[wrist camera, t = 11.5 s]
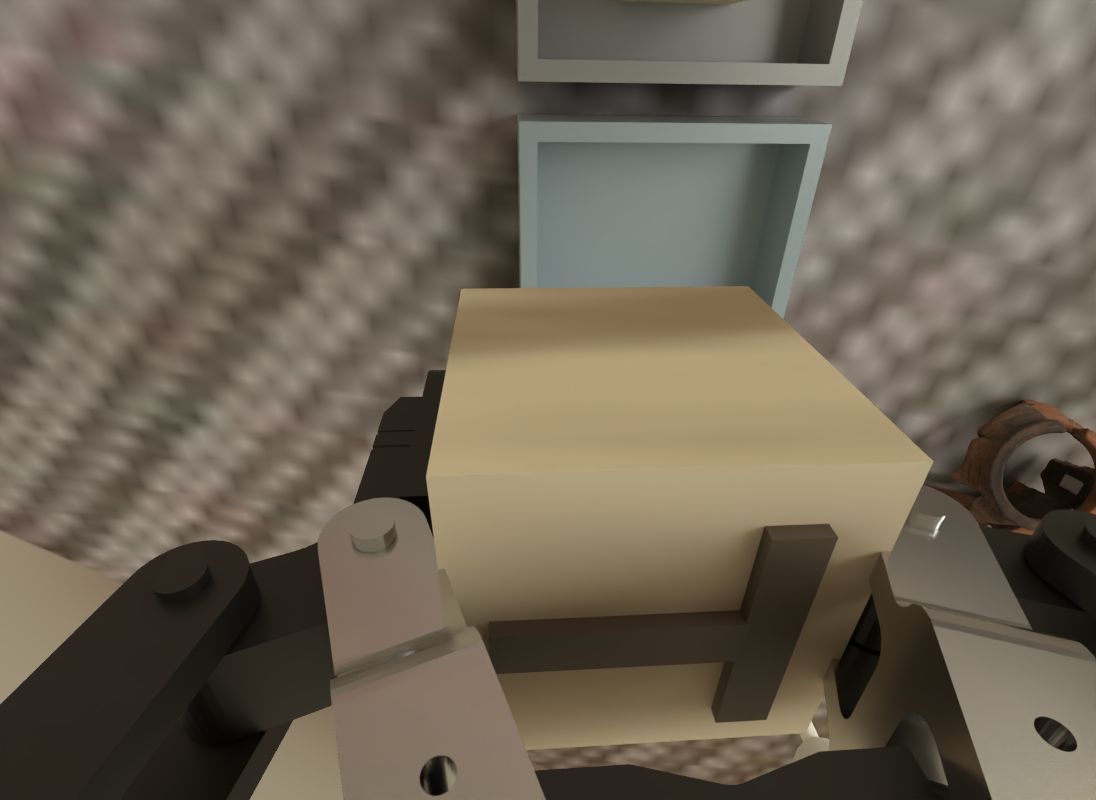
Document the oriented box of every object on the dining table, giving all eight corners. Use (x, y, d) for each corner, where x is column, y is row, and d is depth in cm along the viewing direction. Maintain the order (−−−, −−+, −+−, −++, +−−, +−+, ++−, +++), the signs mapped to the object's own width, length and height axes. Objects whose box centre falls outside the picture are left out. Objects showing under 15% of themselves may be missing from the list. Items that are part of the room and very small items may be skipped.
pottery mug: (900, 507, 44) (964, 538, 36) (924, 387, 43) (995, 392, 35) (1068, 536, 42) (1174, 575, 34) (1096, 413, 42) (1211, 423, 34)
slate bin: (517, 114, 27) (518, 121, 24) (796, 117, 28) (832, 124, 25) (519, 323, 33) (521, 351, 30) (751, 320, 34) (776, 346, 31)
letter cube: (460, 288, 10) (423, 490, 5) (748, 286, 10) (946, 473, 5) (476, 509, 12) (460, 769, 8) (703, 502, 12) (811, 747, 8)
